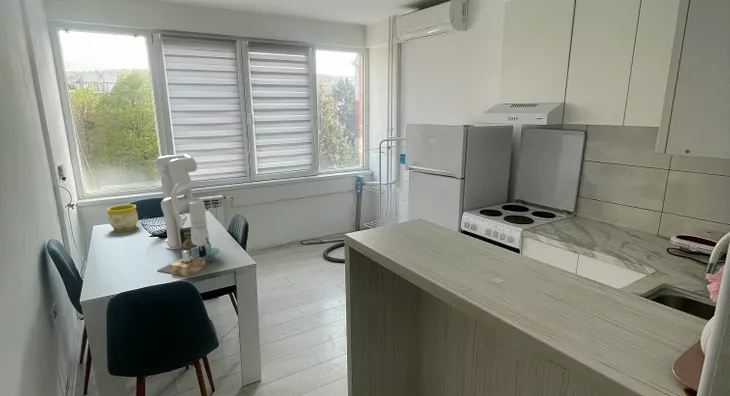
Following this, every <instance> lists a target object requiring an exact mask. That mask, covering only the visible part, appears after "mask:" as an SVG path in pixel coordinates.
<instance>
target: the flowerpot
mask: <svg viewBox="0 0 730 396" xmlns="http://www.w3.org/2000/svg"><path fill="white" fill-rule="evenodd" d="M106 212H107V214H108V222H109V225H110V226H111V227H112V228H113V231H115V232H116V233H117V232H118V233H125V232H128V231H132V230H135V229H136V228H137V223H138V221H139V216H138V215H139V214H138V212H137V205H136V204H130V203H129V204H120V205H114V206H111V207H108V208H106Z"/></svg>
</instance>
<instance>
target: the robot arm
mask: <svg viewBox="0 0 730 396" xmlns="http://www.w3.org/2000/svg"><path fill="white" fill-rule="evenodd" d="M155 165H156V168H157V169H158V171H159V174H160V179H161V189H162V194H163V195H164V196H165V198H163V199H162V200H161V201H160V207H161V211H162V213H163V217H164V222H165V229H166V234H167V235H166V236H167V238H166V239H165V240H164V243H166V245H165V248H166V249H167V250H179V249H182V246H181V238H180V230H179V229H181V228H184V222H183V218H182V216H181V215H184V214H189V219H190V220H189V221H190V225H191V226H190V227H191V240H192V243H193V244H195V245H197V247H198V250H199V256H198V258H205V257H207V256H206V248H208V244H209V243H210V236H209V230H208V227H207V226H208V225H207V224H208V223H207V215H206V208H205V202H204V200H202V199H201V197H197V196H196V197H193V191H192V185H191V184H192V182H193V181H192V178H191V176H190V174H189V173H194V172H195V173H196V171H197V170H198V164H197V162H196V160H195V158H194V157H192V156H191V155H189V154H186V153H185V154H176V155H175V154H173V155H172V154H171V155H163V156H159V157H157V158H156V159H155Z"/></svg>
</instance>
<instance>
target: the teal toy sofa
mask: <svg viewBox="0 0 730 396" xmlns="http://www.w3.org/2000/svg"><path fill="white" fill-rule="evenodd" d="M211 243H212V242H209V244H208V248H206V256H205V257H207V262H208V263H214V262H216V261H217V260H216V255H218V254H219V253H220V248H219V247H212V244H211ZM191 255H192V256H191V257H193V258H194V257H197V258H198V257H199V250H198V247H194V248H191Z"/></svg>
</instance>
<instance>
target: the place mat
mask: <svg viewBox="0 0 730 396" xmlns="http://www.w3.org/2000/svg"><path fill="white" fill-rule="evenodd" d="M170 264H171V263H170ZM170 264H168V265H166V266H163V267H162V268H161V267H160V268H159V269H157V272H159V273H165V274H172V273H171V271H170Z"/></svg>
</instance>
